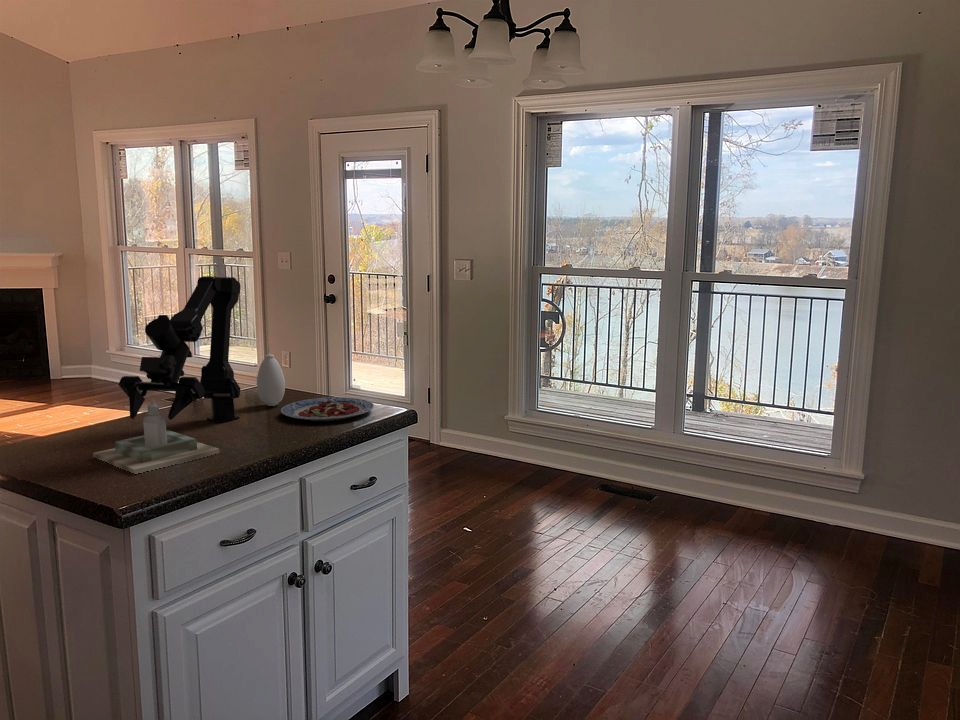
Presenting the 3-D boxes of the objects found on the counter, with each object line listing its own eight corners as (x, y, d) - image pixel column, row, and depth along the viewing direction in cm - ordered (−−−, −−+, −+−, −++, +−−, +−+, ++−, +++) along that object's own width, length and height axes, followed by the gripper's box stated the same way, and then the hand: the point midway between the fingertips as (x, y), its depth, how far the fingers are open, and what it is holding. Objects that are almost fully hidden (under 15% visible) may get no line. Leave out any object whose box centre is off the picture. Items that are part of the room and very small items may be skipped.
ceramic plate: (320, 401, 234) (319, 391, 233) (391, 409, 223) (391, 399, 222) (261, 420, 211) (260, 409, 211) (337, 430, 200) (337, 419, 199)
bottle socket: (93, 457, 177) (92, 442, 176) (175, 439, 192) (174, 425, 191) (135, 475, 164) (133, 458, 163) (219, 453, 179) (218, 438, 178)
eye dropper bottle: (148, 454, 174) (144, 403, 172) (144, 448, 179) (140, 398, 177) (168, 451, 177) (165, 400, 175) (164, 446, 181) (161, 396, 179)
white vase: (291, 404, 228) (288, 345, 225) (271, 410, 222) (267, 348, 219) (272, 401, 233) (269, 343, 229) (252, 407, 226) (249, 346, 223)
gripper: (119, 342, 178) (94, 398, 169) (195, 342, 176) (174, 400, 167) (140, 369, 187) (118, 424, 179) (213, 370, 185) (194, 426, 176)
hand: (150, 418), depth 175 cm, fingers open, 9 cm apart
